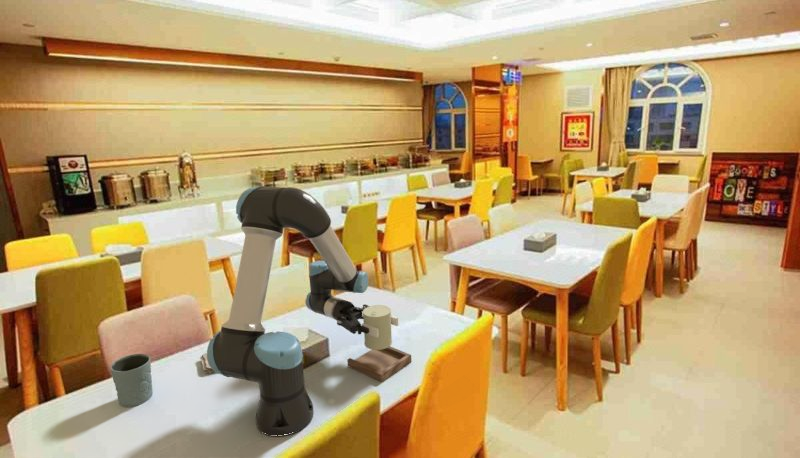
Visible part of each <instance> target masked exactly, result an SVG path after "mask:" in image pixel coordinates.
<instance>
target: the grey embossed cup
mask: <svg viewBox="0 0 800 458" xmlns="http://www.w3.org/2000/svg"><path fill="white" fill-rule="evenodd" d="M151 359H152V358H151V356H150V355H149V354H146V353H134V354H128V355H126V356H123V357H120V358H118V359H117V360H115V361H114V362H112V363H111V365H110V366H109V369H110V372H111V376H112V377H111V378H112V380H113V383H114V386H115V391H116V396H117V399H118V403H119V405H120V406H121V407H122V408H132V407H136V406H140V405H142V404H144V403H146V402H148V401H149V400H150V399H151V398H152V396H153V391H154V390H153V383H152V382H153V381H152V374H151V373H152V368H151V367H152V363H151Z"/></svg>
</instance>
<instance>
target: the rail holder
mask: <svg viewBox="0 0 800 458" xmlns="http://www.w3.org/2000/svg"><path fill="white" fill-rule="evenodd" d="M346 362H347V368H351V369H353V370H355V371H356V372H359V373H361V374H363V375H365V376H367V377H369V378H372V379H374V380H376V381H378V382H380V383H382V382H384V381H385V380H387V379H389V378H390V377H391V376H392V375H394V374H396V373H397V372H398V371H400V370H401V369H403V368H405V367H406V366H407V365H409V364H410V363H412V354H411V353H408V352H406V351H402V350H400V349H397V348H395V347H392V346H389V347H388V348H386V349H382V350H372V349H369V350H368V351H367V352H365V353H363V354H362V355H360V356H358V357H357V358H354V359H353V358H351V357H349V358H348V359H347V361H346Z"/></svg>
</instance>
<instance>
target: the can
mask: <svg viewBox="0 0 800 458" xmlns="http://www.w3.org/2000/svg"><path fill="white" fill-rule="evenodd" d="M368 306H369V307H367V308H365V309H364V310H363V312H362V316H363V319H362V320H363V323H364V324H367V325H370V326H372V327H375V328H378V331H379V337H375V336H372V335H369V334H366V333H363V334H364V335H363V336H364V344H363V345H364V346H365V348H367V349H369V350H382V349H386V348H388V347H389V346H390V347H392V346H391V345H392V344H393V338H392V337H393V336H392V324H391V314H392V312H391V311H392V310H391V308H390V307H389V306H386V305H381V304H379V305H378V304H376V305H368Z"/></svg>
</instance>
